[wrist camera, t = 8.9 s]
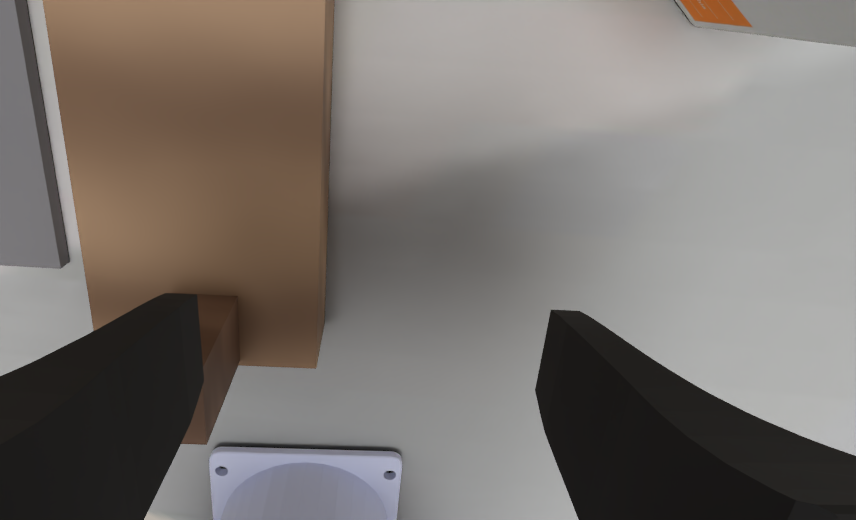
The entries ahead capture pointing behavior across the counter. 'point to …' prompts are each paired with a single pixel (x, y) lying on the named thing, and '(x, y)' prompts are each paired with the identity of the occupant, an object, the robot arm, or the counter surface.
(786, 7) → the skincare box
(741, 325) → the counter surface
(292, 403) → the counter surface
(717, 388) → the counter surface
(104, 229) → the body
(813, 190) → the counter surface
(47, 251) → the mat
